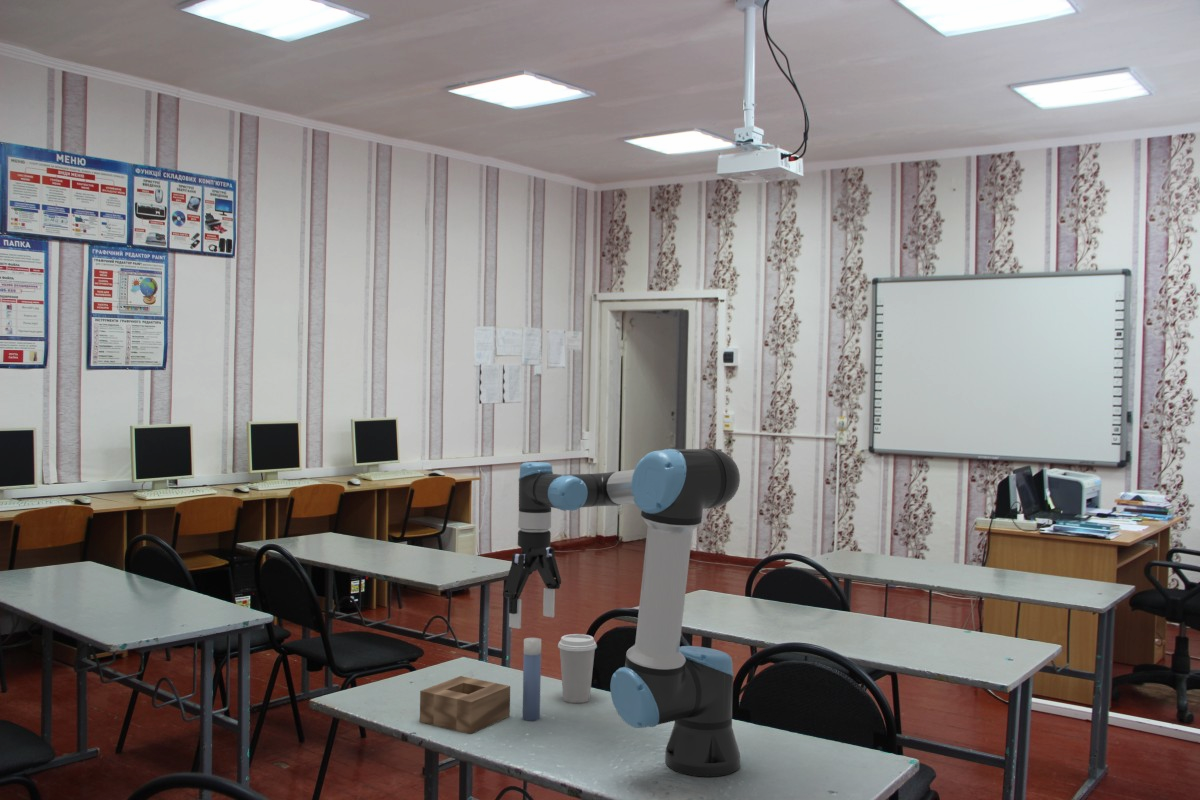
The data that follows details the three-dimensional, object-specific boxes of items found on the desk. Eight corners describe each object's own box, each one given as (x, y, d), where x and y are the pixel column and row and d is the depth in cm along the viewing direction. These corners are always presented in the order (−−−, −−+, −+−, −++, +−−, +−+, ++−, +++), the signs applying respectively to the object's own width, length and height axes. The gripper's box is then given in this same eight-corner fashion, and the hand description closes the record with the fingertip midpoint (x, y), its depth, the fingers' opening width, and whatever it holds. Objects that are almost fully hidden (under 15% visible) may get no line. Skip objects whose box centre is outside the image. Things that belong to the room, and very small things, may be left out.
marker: (543, 717, 230) (544, 639, 230) (533, 722, 227) (534, 642, 226) (528, 714, 232) (530, 636, 232) (518, 718, 229) (520, 640, 229)
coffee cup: (603, 697, 246) (604, 636, 246) (581, 707, 238) (583, 644, 238) (571, 691, 251) (572, 631, 251) (549, 700, 243) (550, 638, 243)
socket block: (509, 716, 230) (510, 686, 230) (470, 734, 218) (471, 702, 218) (460, 705, 238) (460, 676, 238) (419, 721, 225) (420, 690, 225)
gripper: (550, 522, 242) (548, 609, 242) (488, 534, 220) (486, 630, 221) (577, 525, 238) (574, 614, 238) (516, 537, 217) (513, 635, 217)
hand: (532, 622), depth 229 cm, fingers open, 13 cm apart
